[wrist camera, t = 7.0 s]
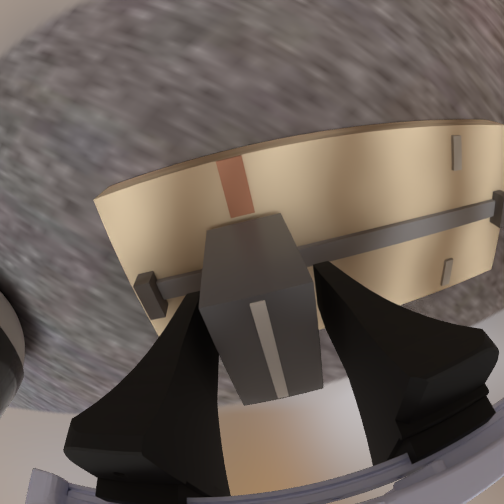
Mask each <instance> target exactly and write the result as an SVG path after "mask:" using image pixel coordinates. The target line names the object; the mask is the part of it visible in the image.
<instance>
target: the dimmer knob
mask: <svg viewBox="0 0 504 504" xmlns="http://www.w3.org/2000/svg"><path fill="white" fill-rule="evenodd" d="M199 310H200V313H201V315H202V317H203V320H204V322H205V324H206V326H207V329H208V331H209V333H210V335H211V338H212V340H213V342H214V344H215V346H216V349H217V351H218V353H219V355H220V357H221V359H222V362H223V364H224V366H225V368H226V370H227V372H228V374H229V376H230V378H231V380H232V383H233V385H234V387H235V389H236V391H237V393H238V395H239V397H240V399H241V401H242V403H243V405H250V404H256V403H261V402H266V401H271V400H276V399H281V398H285V397H290V396H294V395H298V394H303V393H307V392H310V391H314V390H318V389H322V388H323V375H322V362H321V349H320V338H319V328H318V318H317V308H316V299H315V290H314V282H313V280H312V277H311V275H310V273H309V271H308V269H307V267H306V265H305V262H304V260H303V258H302V256H301V254H300V252H299V250H298V248H297V246H296V243H295V241H294V239H293V237H292V235H291V233H290V231H289V229H288V227H287V225H286V223H285V221H284V219H283V217H282V215H281V213H278V214H274V215H269V216H265V217H261V218H257V219H252V220H248V221H244V222H240V223H236V224H232V225H228V226H223V227H219V228H215V229H211V230H207V232H206V241H205V250H204V259H203V268H202V278H201V288H200V299H199Z"/></svg>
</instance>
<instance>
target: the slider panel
mask: <svg viewBox="0 0 504 504" xmlns="http://www.w3.org/2000/svg"><path fill="white" fill-rule="evenodd" d="M94 202H95V205H96V207H97V210H98V212H99V215H100V217H101V220H102V222H103V224H104V227H105V229H106V232H107V234H108V236H109V238H110V241H111V243H112V245H113V248H114V250H115V252H116V254H117V256H118V258H119V261H120V263H121V265H122V267H123V269H124V271H125V273H126V275H127V277H128V279H129V281H130V283H131V285H132V287H133V289H134V291H135V293H136V295H137V297H138V299H139V301H140V303H141V305H142V307H143V308H144V310H145V312H146V314H147V316H148V318H149V319H150V321H151V323H152V325H153V327H154V328H155V330H156V332H157V334H158V335H159V336H160V335H161V333H162V332H163V331H164V329H165V328H166V326H167V324H168V323H169V321H170V320H171V318H172V317H173V315H174V313H175V312H176V310H177V308H178V307H179V305H180V304H181V302H182V300H183V299H184V297H185V296H186V294H188V293H192V292H197V291H200V288H201V278H202V268H203V259H204V250H205V241H206V232H207V230H211V229H215V228H219V227H223V226H228V225H232V224H236V223H240V222H244V221H248V220H252V219H257V218H261V217H265V216H269V215H274V214H278V213H281V215H282V217H283V219H284V221H285V223H286V225H287V227H288V229H289V231H290V233H291V235H292V237H293V239H294V241H295V243H296V246H297V248H298V250H299V252H300V254H301V256H302V258H303V260H304V262H305V265H306V267H307V269H308V271H309V273H310V275H311V277H312V280H313V282H314V290H315V299H316V308H317V318H318V328H319V330H320V329H323V328H325V326H324V323H323V320H322V317H321V314H320V311H319V308H318V305H317V296H316V288H315V279H314V271H313V264H317V263H321V262H325V261H329V262H331V263H332V264H333V265H335V266H336V267H338V268H339V269H340V270H342V271H343V272H344V273H346V274H347V275H349V276H350V277H351V278H353V279H354V280H356V281H357V282H359V283H360V284H362V285H363V286H365V287H366V288H368V289H369V290H371V291H373V292H375V293H376V294H378V295H380V296H382V297H383V298H385V299H387V300H389V301H391V302H393V303H395V304H397V305H402V304H404V303H407V302H410V301H413V300H416V299H419V298H421V297H424V296H427V295H429V294H432V293H435V292H437V291H440V290H443V289H445V288H448V287H450V286H453V285H455V284H458V283H460V282H463V281H465V280H467V279H470V278H472V277H474V276H477V275H479V274H481V273H484V272H486V271H488V270H490V269H491V268H492V264H493V260H494V255H495V251H496V246H497V241H498V236H499V230H500V228H502V227H504V124H500V123H497V122H493V121H489V120H482V119H451V120H423V121H407V122H394V123H383V124H373V125H364V126H356V127H348V128H341V129H334V130H327V131H320V132H314V133H308V134H302V135H297V136H291V137H286V138H281V139H276V140H271V141H266V142H261V143H257V144H252V145H248V146H243V147H239V148H235V149H231V150H227V151H223V152H219V153H215V154H211V155H207V156H204V157H200V158H196V159H193V160H189V161H186V162H182V163H179V164H175V165H172V166H169V167H165V168H162V169H159V170H156V171H153V172H150V173H147V174H144V175H141V176H138V177H135V178H132V179H129V180H126V181H123V182H120V183H118V184H115V185H112V186H109V187H108V188H107V189H106V190H104V191H103V192H102V193H101V194H100V195H99V196H97V197H96V198H95V199H94Z"/></svg>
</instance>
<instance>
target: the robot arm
mask: <svg viewBox="0 0 504 504" xmlns="http://www.w3.org/2000/svg"><path fill="white" fill-rule="evenodd" d="M313 271H314V279H315V288H316V296H317V305H318V308H319V311H320V314H321V317H322V320H323V323H324V326H325V328H326V330H327V333H328V335H329V337H330V339H331V341H332V343H333V345H334V347H335V349H336V351H337V353H338V355H339V358H340V360H341V362H342V364H343V366H344V368H345V370H346V373H347V375H348V378H349V380H350V384H351V387H352V390H353V393H354V396H355V399H356V402H357V405H358V409H359V412H360V415H361V419H362V422H363V426H364V430H365V434H366V437H367V442H368V446H369V450H370V454H371V458H372V463H373V466H372V467H369V468H366V469H363V470H360V471H357V472H354V473H351V474H347V475H345V476H341V477H337V478H334V479H330V480H326V481H322V482H318V483H314V484H310V485H305V486H300V487H295V488H290V489H284V490H278V491H272V492H265V493H257V494H249V495H238V496H231V495H230V490H229V486H228V480H227V475H226V470H225V465H224V458H223V452H222V445H221V437H220V428H219V418H218V406H217V392H218V364H219V353H218V351H217V349H216V346H215V344H214V342H213V340H212V338H211V335H210V333H209V331H208V329H207V326H206V324H205V322H204V320H203V317H202V315H201V313H200V310H199V299H200V291H197V292H192V293H188V294H186V296H185V297H184V299H183V300H182V302H181V304H180V305H179V307H178V308H177V310H176V312H175V313H174V315H173V317H172V318H171V320H170V321H169V323H168V324H167V326H166V328H165V329H164V331H163V332H162V333H161V335H160V336H159V338H158V339H157V340H156V342H155V343H154V345H153V346H152V347H151V349H150V350H149V351H148V353H147V354H146V355H145V356H144V358H143V359H142V360H141V361H140V362H139V363H138V364H137V366H136V367H135V368H134V369H133V370H132V371H131V372H130V373H129V374H128V375H127V376H126V377H125V378H124V379H123V380H122V381H121V382H120V383H119V384H118V385H117V386H116V387H114V388H113V389H112V390H111V391H110V392H109V393H108V394H106V395H105V396H104V397H103V398H101V399H100V400H99V401H97V402H96V403H95V404H93V405H92V406H91V407H89V408H88V409H86V410H85V411H83V412H82V413H80V414H79V415H77V416H76V417H74V418H72V420H71V423H70V427H69V430H68V434H67V438H66V442H65V446H64V449H63V450H64V453H65V455H66V456H67V457H68V458H69V460H71V461H72V462H73V463H75V464H76V465H78V466H79V467H81V468H82V469H84V470H86V471H87V472H89V473H90V474H92V475H94V476H96V477H97V478H98V480H97V486H96V489H95V488H90V487H85V486H80V485H76V484H72V483H68V482H67V481H66V480H64V479H63V478H61V477H59V476H57V475H55V474H52V473H49V472H46V471H43V470H39V469H36V468H33V470H32V474H31V478H30V482H29V487H28V492H27V497H26V503H25V504H326V503H330V502H334V501H338V500H341V499H345V498H348V497H351V496H355V495H358V494H361V493H364V492H367V491H370V490H373V489H376V488H379V487H381V486H384V485H386V484H389V483H392V482H394V481H397V480H399V479H401V480H399V481H397V482H395V483H394V485H393V487H394V488H393V489H392V490H390V491H389V492H387V493H386V494H384V495H383V496H380V497H377V498H374V499H370V500H367V501H364V502H360V503H357V504H466V503H467V502H468V501H470V500H472V499H473V498H475V497H476V496H477V495H479V494H480V493H482V492H483V491H484V490H486V489H487V488H489V487H490V486H491V485H493V484H494V483H495V482H497V481H498V480H499V479H500V478H501V477H503V476H504V398H503V399H501V400H500V401H498V402H497V403H495V404H494V405H491V403H490V402H489V400H488V398H487V396H486V395H488V393H489V390H488V388H487V386H486V385H485V382H486V380H487V378H488V377H489V375H490V373H491V372H492V370H493V368H494V367H495V365H496V362H497V360H498V355H499V350H498V348H497V347H496V345H495V344H494V343H493V341H492V340H491V339H490V338H489V336H488V335H487V334H486V333H485V332H484V331H483V329H478V328H472V327H466V326H461V325H456V324H451V323H448V322H444V321H440V320H437V319H433V318H430V317H427V316H424V315H422V314H419V313H416V312H413V311H411V310H408V309H406V308H404V307H402V306H399V305H397V304H395V303H393V302H391V301H389V300H387V299H385V298H383V297H382V296H380V295H378V294H376V293H375V292H373V291H371V290H369V289H368V288H366V287H365V286H363V285H362V284H360V283H359V282H357V281H356V280H354V279H353V278H351V277H350V276H349V275H347V274H346V273H344V272H343V271H342V270H340V269H339V268H338V267H336V266H335V265H333V264H332V263H331V262H329V261H325V262H321V263H317V264H313ZM406 476H407V477H406ZM404 477H405V478H404ZM402 478H403V479H402Z"/></svg>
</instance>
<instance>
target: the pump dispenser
mask: <svg viewBox="0 0 504 504" xmlns="http://www.w3.org/2000/svg"><path fill="white" fill-rule="evenodd" d="M24 358H25V341H24V335H23V331H22V327H21V324H20V322H19V319H18V317H17V315H16V313H15V311H14V309H13V308H12V306H11V304H10V303H9V302H8V300H7V299H6V298H5V296H4V295H3V294H2V293H1V292H0V418H1V417H2V415H3V414H4V412H5V411H6V409H7V407H8V406H9V404H10V403H11V401H12V399H13V398H14V396H15V395H16V393H17V391H18V389H19V387H20V385H21V383H22V380H23V377H24V370H23V365H24Z"/></svg>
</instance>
